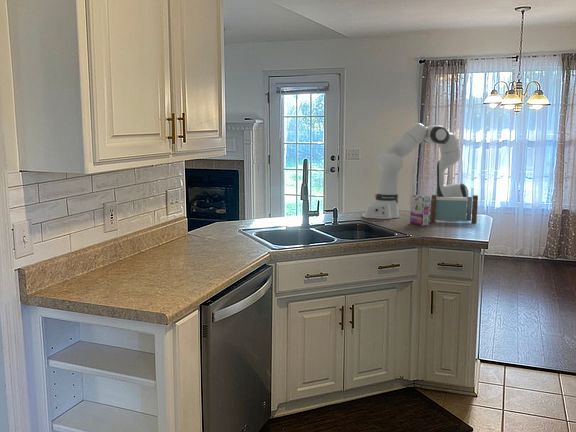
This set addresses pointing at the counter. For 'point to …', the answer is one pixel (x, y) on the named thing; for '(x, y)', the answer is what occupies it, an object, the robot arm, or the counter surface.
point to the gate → (452, 208)
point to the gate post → (474, 209)
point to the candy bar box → (420, 210)
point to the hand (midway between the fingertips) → (450, 209)
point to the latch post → (433, 209)
